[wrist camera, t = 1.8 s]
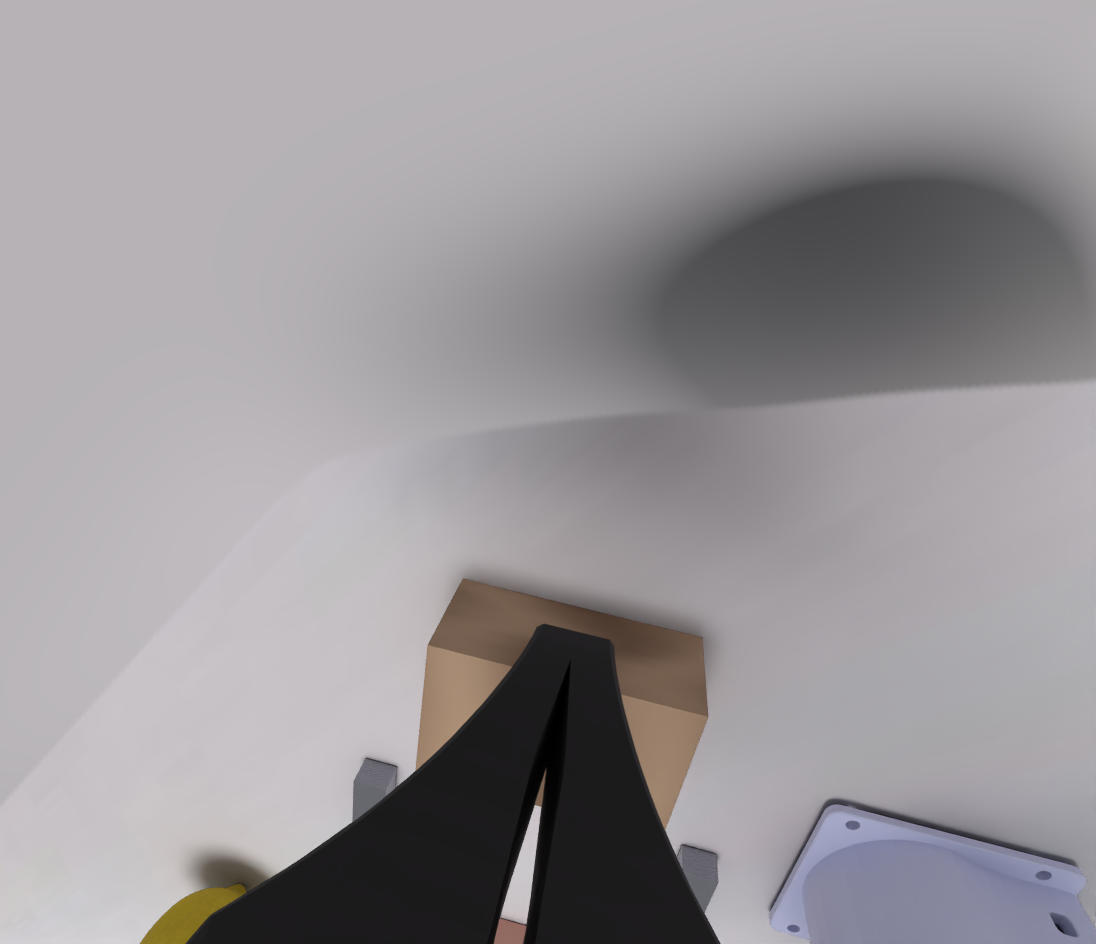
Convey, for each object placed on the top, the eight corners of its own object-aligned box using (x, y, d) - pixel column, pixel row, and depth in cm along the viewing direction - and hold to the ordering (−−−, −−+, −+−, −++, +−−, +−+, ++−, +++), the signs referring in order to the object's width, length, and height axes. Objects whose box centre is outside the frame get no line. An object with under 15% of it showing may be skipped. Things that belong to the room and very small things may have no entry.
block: (702, 633, 23) (708, 716, 19) (662, 747, 25) (661, 839, 22) (464, 574, 23) (427, 644, 20) (450, 691, 26) (415, 771, 22)
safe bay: (716, 854, 27) (718, 882, 26) (671, 956, 30) (671, 984, 29) (365, 758, 28) (353, 780, 27) (361, 865, 32) (350, 889, 31)
